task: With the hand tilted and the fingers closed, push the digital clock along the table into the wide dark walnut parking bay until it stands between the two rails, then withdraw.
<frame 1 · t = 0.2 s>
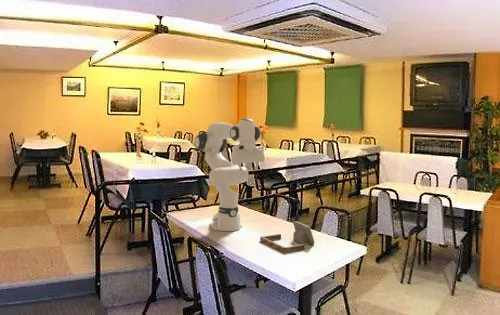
hand: (248, 170, 258), 40 cm above the table, tool pointing down, fingers open, 8 cm apart
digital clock: (303, 241, 258), on the table
bay: (281, 245, 250), on the table
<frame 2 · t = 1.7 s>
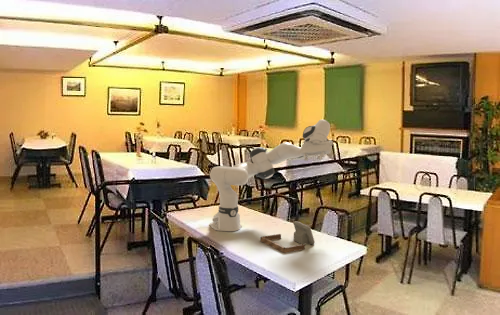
hand: (312, 159, 268), 45 cm above the table, tool tilted 45°, fingers open, 8 cm apart
nothing on the table moved.
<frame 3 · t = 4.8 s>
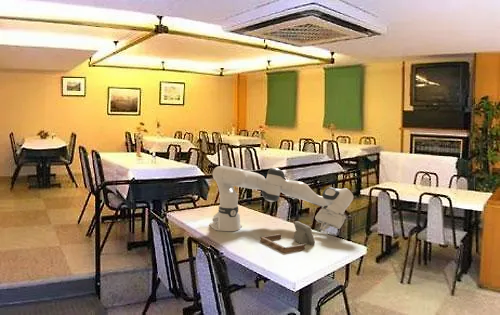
hand: (321, 229, 264), 5 cm above the table, tool tilted 45°, fingers closed
nothing on the table moved.
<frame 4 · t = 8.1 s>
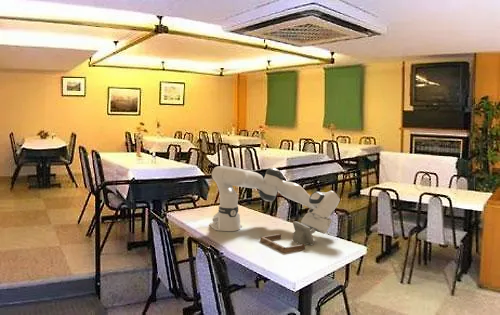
hand: (307, 234, 257), 4 cm above the table, tool tilted 40°, fingers closed
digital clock: (303, 242, 257), on the table, touching gripper
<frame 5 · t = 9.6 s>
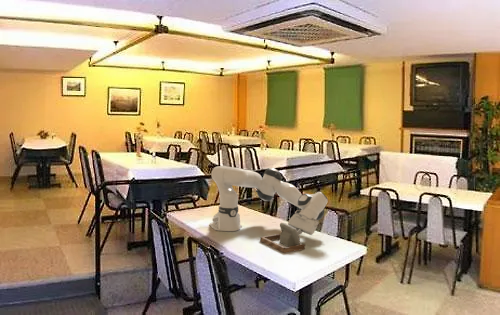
hand: (294, 236, 253), 4 cm above the table, tool tilted 45°, fingers closed
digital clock: (289, 244, 253), on the table, touching gripper
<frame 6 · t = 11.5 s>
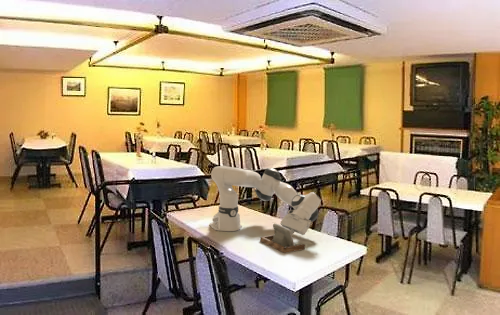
hand: (286, 235, 251), 5 cm above the table, tool tilted 45°, fingers closed
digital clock: (283, 244, 252), on the table
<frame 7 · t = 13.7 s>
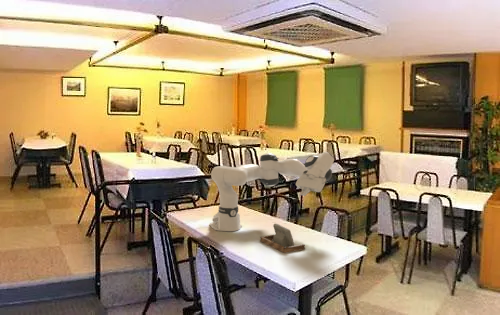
hand: (302, 195, 255), 27 cm above the table, tool tilted 40°, fingers closed
nothing on the table moved.
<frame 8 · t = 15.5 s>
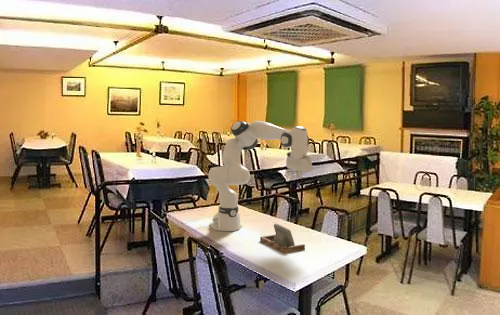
hand: (298, 178, 264), 35 cm above the table, tool pointing down, fingers closed
nothing on the table moved.
at the end: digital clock inside the target area (0.9 cm from its centre), on the table; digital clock moved 13.3 cm from its start; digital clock tilted 0° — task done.
